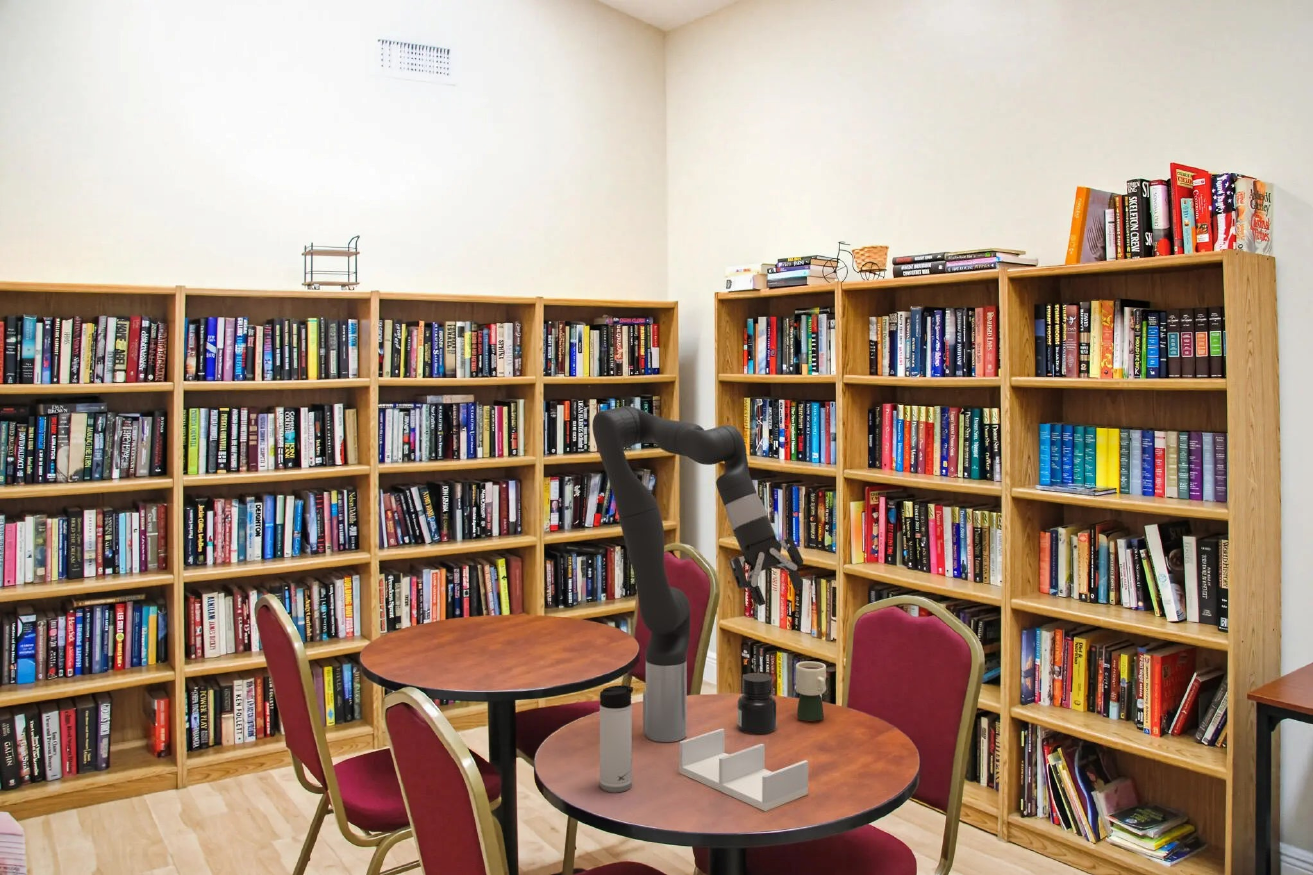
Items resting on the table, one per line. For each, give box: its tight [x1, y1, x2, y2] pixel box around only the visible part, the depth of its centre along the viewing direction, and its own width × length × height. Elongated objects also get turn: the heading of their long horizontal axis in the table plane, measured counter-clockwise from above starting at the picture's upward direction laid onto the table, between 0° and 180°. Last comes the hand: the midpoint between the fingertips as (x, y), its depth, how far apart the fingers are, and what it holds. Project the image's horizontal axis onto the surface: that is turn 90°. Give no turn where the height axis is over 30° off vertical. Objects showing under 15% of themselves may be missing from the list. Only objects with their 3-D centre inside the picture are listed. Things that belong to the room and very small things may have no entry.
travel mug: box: [599, 684, 634, 793], centre depth 200 cm, size 6×7×20 cm
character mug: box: [795, 660, 827, 722], centre depth 240 cm, size 11×7×13 cm, turn 25°
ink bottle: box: [736, 672, 777, 735], centre depth 234 cm, size 10×9×12 cm
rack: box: [679, 728, 809, 812], centre depth 202 cm, size 24×12×6 cm, turn 41°
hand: (780, 597), depth 200 cm, fingers open, 8 cm apart
